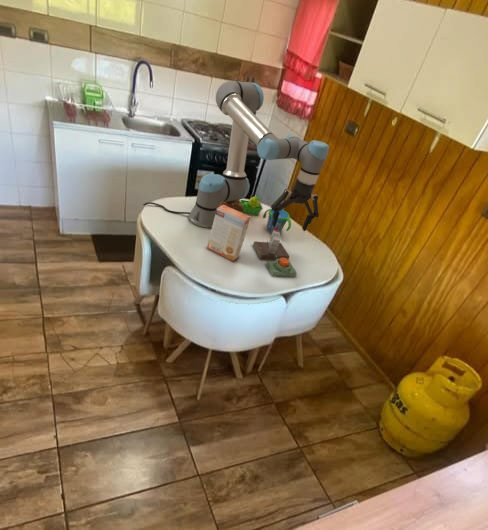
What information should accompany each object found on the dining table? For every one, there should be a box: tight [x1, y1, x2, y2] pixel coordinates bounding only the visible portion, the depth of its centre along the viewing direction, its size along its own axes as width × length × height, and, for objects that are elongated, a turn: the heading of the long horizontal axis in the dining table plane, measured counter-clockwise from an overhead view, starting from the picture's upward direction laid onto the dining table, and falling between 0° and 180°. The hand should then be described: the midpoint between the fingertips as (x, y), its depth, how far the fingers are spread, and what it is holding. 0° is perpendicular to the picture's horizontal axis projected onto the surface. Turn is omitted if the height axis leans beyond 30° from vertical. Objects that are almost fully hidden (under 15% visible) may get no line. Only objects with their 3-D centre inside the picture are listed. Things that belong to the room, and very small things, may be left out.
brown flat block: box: [252, 240, 290, 261], centre depth 177 cm, size 14×13×3 cm
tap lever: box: [268, 230, 281, 254], centre depth 174 cm, size 9×3×8 cm, turn 169°
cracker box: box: [206, 205, 252, 262], centre depth 165 cm, size 14×6×21 cm, turn 56°
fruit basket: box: [240, 195, 264, 216], centre depth 205 cm, size 11×9×11 cm
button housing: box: [265, 259, 298, 278], centre depth 166 cm, size 11×8×4 cm
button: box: [278, 258, 291, 267], centre depth 165 cm, size 4×4×2 cm
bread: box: [219, 199, 243, 213], centre depth 203 cm, size 19×11×10 cm, turn 19°
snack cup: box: [262, 208, 292, 233], centre depth 194 cm, size 16×10×10 cm
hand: (288, 227), depth 162 cm, fingers open, 13 cm apart
